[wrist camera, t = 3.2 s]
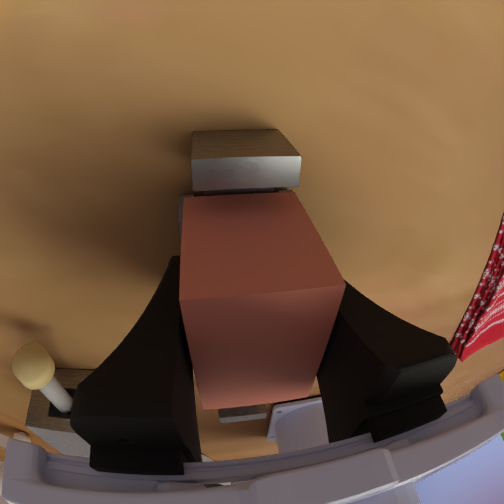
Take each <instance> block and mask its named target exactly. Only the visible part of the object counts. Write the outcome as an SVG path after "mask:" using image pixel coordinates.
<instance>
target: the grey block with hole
mask: <svg viewBox="0 0 504 504" xmlns="http://www.w3.org/2000/svg"><path fill="white" fill-rule="evenodd" d="M93 371H94V370H77V369H57V368H55V371H54V377H55V378H56V379H57V380H58V382H59V383H60V384H61V385H62V386H63V388H64V389H65V390H66V391H67V392H68V394H69V395H70V396H71V397H72V398H73V399H74V395H75V392H76V389H77V385H78V384H79V383H80V382H82V381H83V380H84V379H85V378H86V377H87V376H89V375H90V374H91V373H92V372H93ZM70 416H71V411H70V412H68V413H62V412H60V411H59V410H58V409H57V408H56V407H55V406H54V405H53V404H52V403H51V401H50V400H49V399H48V398H47V397H46V396H45V395H44V394H43V393H42V392H41V391H40V390H39V389H36V390H32V394H31V399H30V403H29V408H28V413H27V418H26V424H25V426H26V427H28V428H29V429H30V430H31V431H32V432H34V433H35V434H36V435H38V436H39V437H40V438H41V439H43V440H44V441H45V442H47V443H48V444H50V445H51V446H52V447H54V448H55V449H56V450H58V451H59V452H61V453H62V454H65V455H72V456H79V457H87V458H90V445H89V444H88V443H87V442H86V441H85V440H83V439H82V438H81V437H80V436H79V435H77V434H76V433H75V431H74V430H73V429H72V428H71V427H70Z"/></svg>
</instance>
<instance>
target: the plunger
mask: <svg viewBox="0 0 504 504" xmlns="http://www.w3.org/2000/svg"><path fill="white" fill-rule="evenodd" d="M12 371H13V373H14V375H15V376H16V377H17V378H18V380H19V381H20V382H21V383H22V384H23V385H24V386H25V387H26V388H28V389H32V390H36V389H39V390H40V391H41V392H42V393H43V394H44V395H45V396H46V397H47V398H48V399H49V400H50V401H51V403H52V404H53V405H54V406H55V407H56V408H57V409H58V410H59V411H60V412H62V413H68V412H70V411H71V409H72V403H73V398H72V397H71V396H70V395H69V394H68V392H67V391H66V390H65V389H64V388H63V386H62V385H61V384H60V383H59V382H58V380H57V379H56V378H55V377H54V371H55V364H54V361H53V359H52V358H51V356H50V355H49V354H48V352H47V351H46V349H45V348H44V347H43V346H42V345H40V344H38V343H29V344H26V345H24V346H23V347H21V348H20V349H19V350H18V351H17V352H16V354H15V355H14V357H13V360H12Z"/></svg>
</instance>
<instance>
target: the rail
mask: <svg viewBox="0 0 504 504" xmlns="http://www.w3.org/2000/svg"><path fill="white" fill-rule="evenodd" d="M301 158H302V156H301V155H300V154H299V153H298V152H297V150H296V149H295V148H294V147H293V146H292V145H291V143H290V142H289V141H288V140H287V139H286V138H285V136H284V135H283V134H282V133H281V132H280V131H279V130H226V131H204V132H193V138H192V152H191V168H192V184H193V191H203V193H204V196H215V195H233V194H254V193H275V187H299V177H300V168H301ZM218 412H219V420H220V423H229V422H239V421H248V420H256V419H264V418H266V415H267V411H266V406H265V404H259V405H251V406H242V407H233V408H222V409H218Z"/></svg>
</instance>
